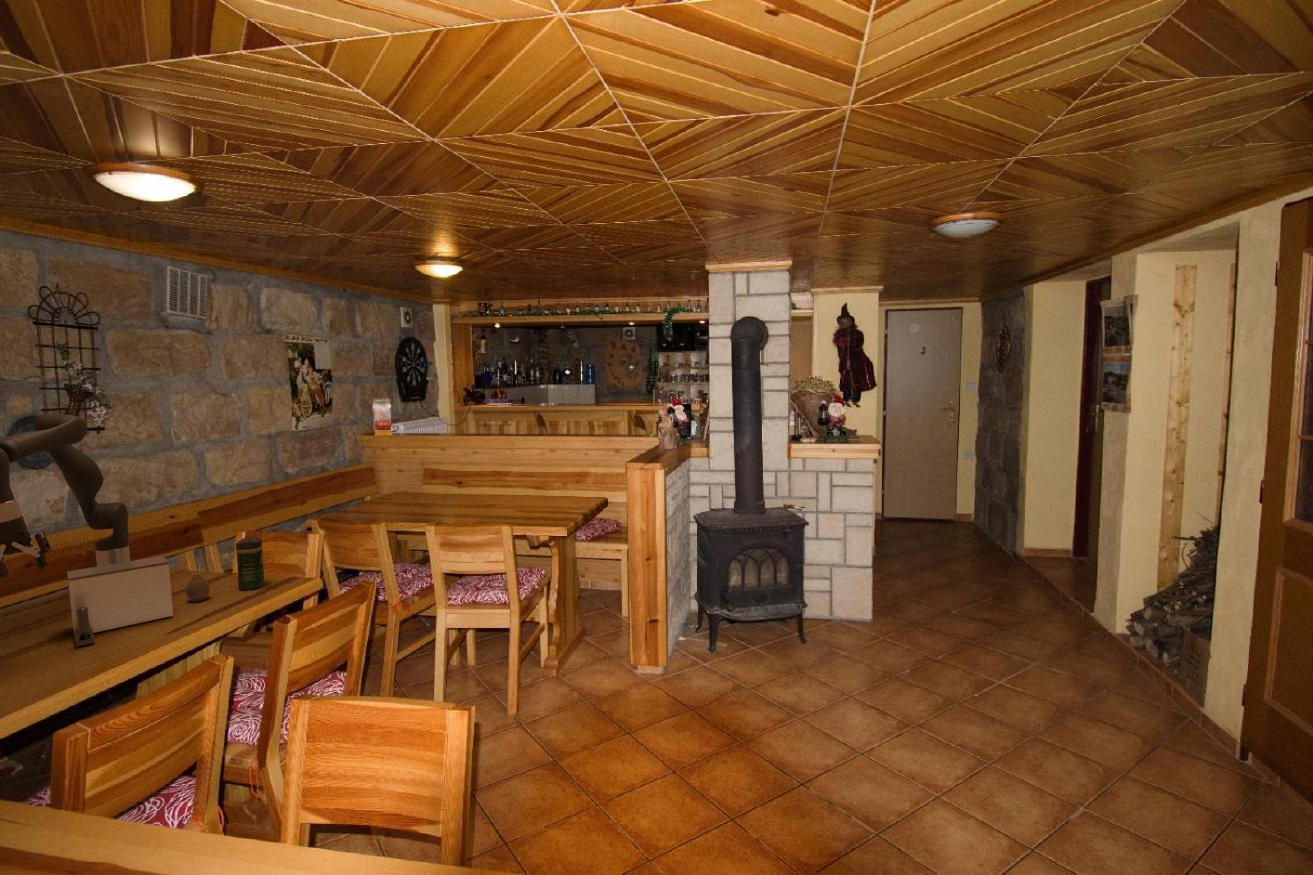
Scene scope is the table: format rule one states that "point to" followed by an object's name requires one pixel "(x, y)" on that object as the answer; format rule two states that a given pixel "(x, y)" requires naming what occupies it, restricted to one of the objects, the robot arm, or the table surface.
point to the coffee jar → (250, 563)
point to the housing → (114, 569)
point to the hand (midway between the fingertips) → (24, 572)
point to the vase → (197, 589)
